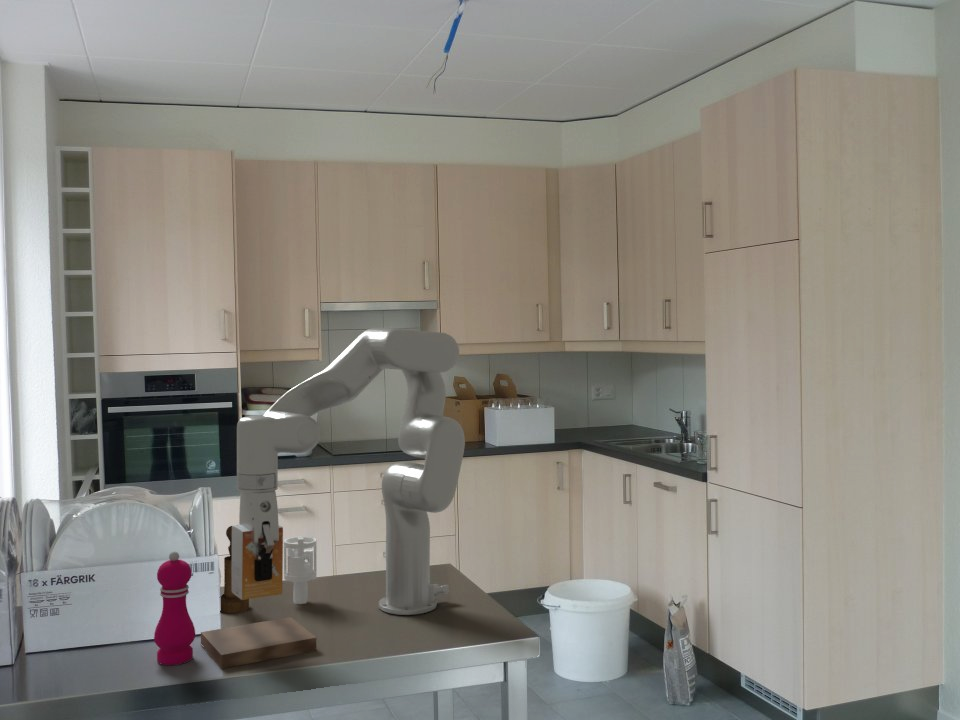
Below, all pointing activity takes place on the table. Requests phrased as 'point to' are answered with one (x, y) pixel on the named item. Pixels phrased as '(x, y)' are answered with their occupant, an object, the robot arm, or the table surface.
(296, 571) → the white slotted cylindrical holder
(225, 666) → the walnut board
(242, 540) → the small box
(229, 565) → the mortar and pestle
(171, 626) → the pepper mill
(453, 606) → the table surface
